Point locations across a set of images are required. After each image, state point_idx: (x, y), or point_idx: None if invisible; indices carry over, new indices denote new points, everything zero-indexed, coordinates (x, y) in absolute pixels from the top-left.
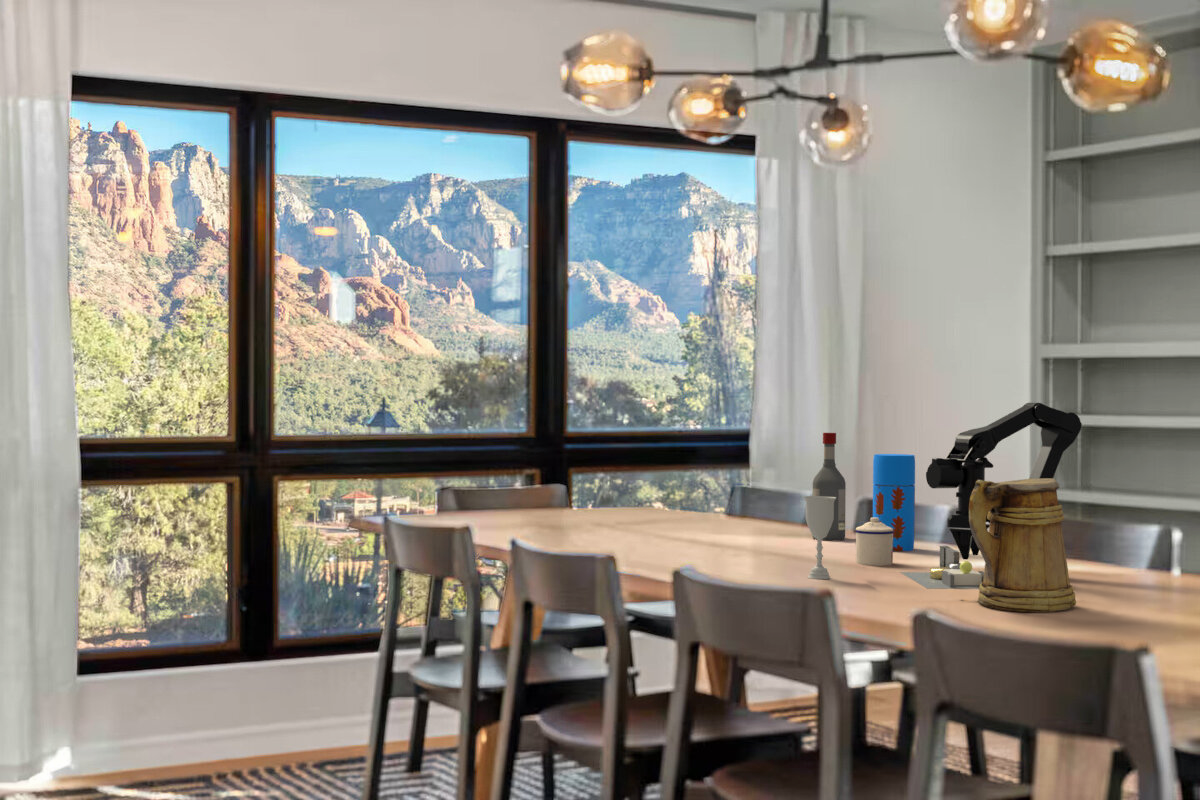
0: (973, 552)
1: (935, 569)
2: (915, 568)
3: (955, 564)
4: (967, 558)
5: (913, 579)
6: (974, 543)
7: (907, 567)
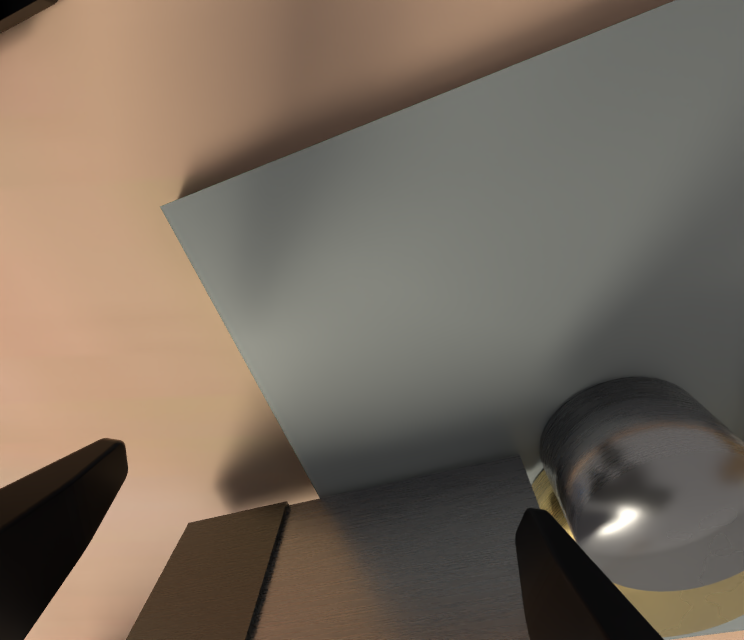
0: (110, 491)
1: (719, 616)
2: (100, 609)
3: (696, 555)
4: (550, 516)
5: (708, 631)
6: (22, 582)
7: (88, 632)
